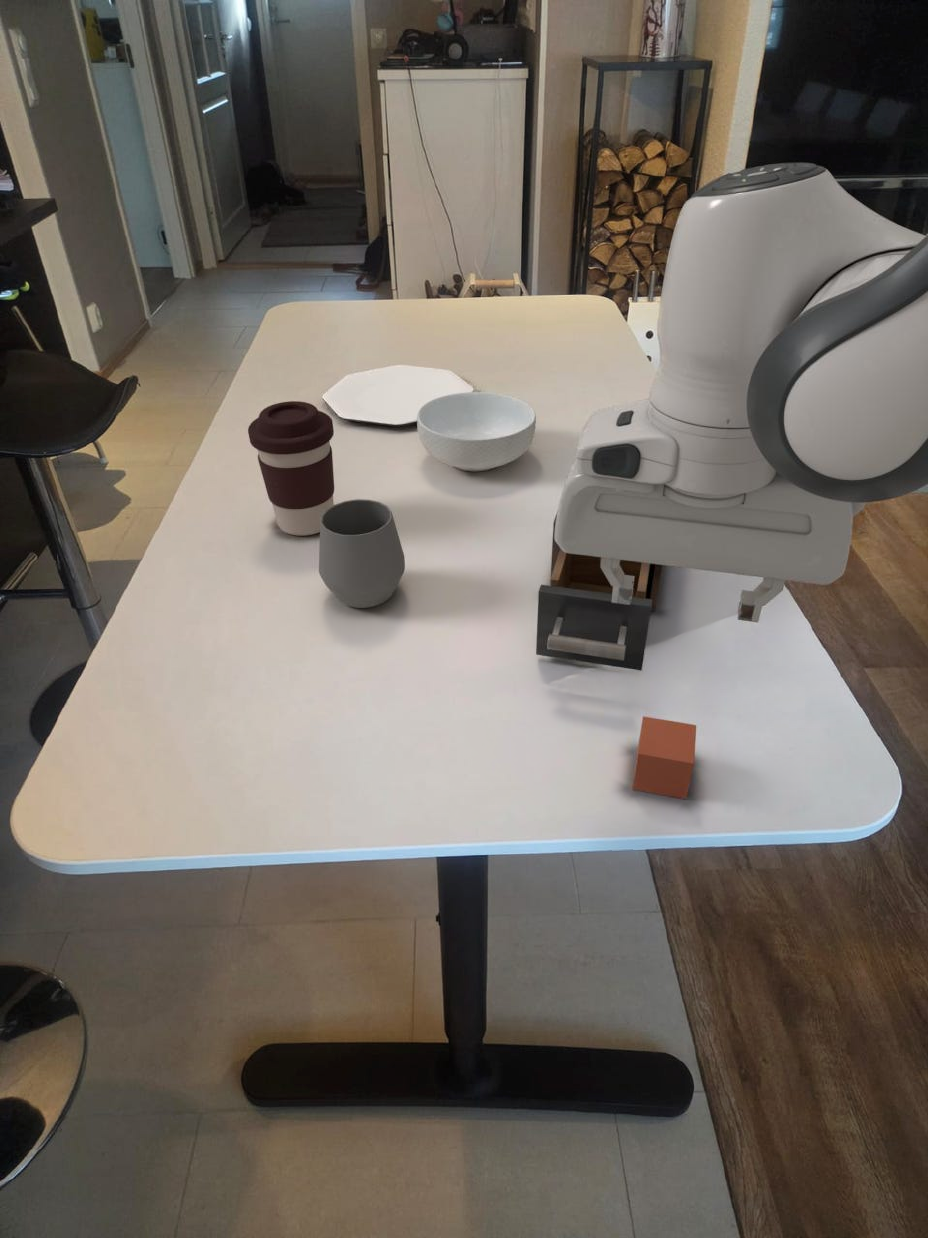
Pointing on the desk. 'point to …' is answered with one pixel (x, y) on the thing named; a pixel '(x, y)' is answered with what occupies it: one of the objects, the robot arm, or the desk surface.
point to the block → (665, 757)
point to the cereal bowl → (476, 429)
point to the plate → (391, 393)
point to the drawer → (592, 614)
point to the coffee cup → (295, 463)
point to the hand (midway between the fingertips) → (683, 608)
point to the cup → (360, 552)
